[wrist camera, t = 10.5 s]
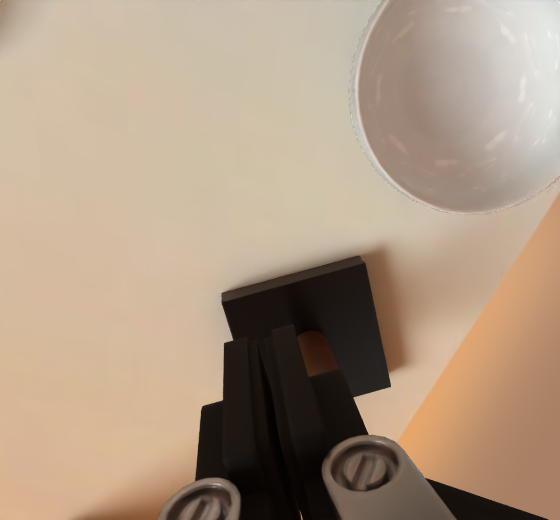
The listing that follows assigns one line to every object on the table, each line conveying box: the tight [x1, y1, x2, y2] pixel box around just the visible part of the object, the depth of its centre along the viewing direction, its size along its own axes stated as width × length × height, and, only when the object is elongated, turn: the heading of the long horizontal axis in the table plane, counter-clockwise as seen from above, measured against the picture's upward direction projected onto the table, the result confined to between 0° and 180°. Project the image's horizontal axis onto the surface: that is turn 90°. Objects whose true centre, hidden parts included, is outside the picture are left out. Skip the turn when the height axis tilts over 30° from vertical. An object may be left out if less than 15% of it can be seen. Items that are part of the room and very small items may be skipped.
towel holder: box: [221, 256, 391, 397], centre depth 38 cm, size 18×12×12 cm
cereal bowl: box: [349, 0, 560, 215], centre depth 35 cm, size 17×17×7 cm
